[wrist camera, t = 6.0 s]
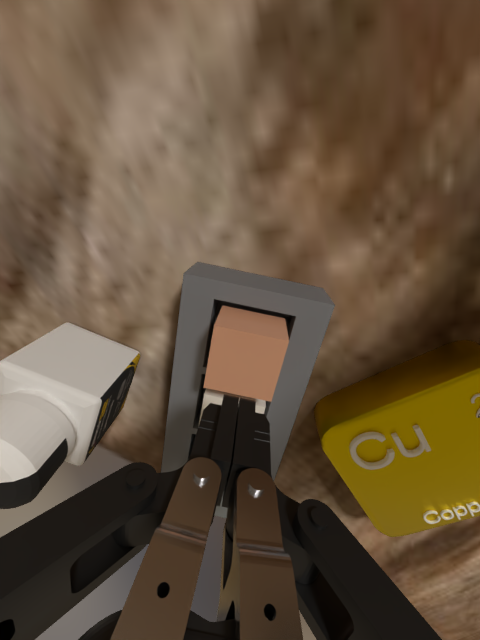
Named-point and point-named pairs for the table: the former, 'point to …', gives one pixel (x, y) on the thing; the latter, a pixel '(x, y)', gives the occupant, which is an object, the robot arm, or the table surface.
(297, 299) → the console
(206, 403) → the ivory key
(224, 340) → the terracotta key
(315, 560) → the robot arm
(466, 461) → the element tile
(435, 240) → the table surface
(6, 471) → the medicine bottle
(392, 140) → the table surface
